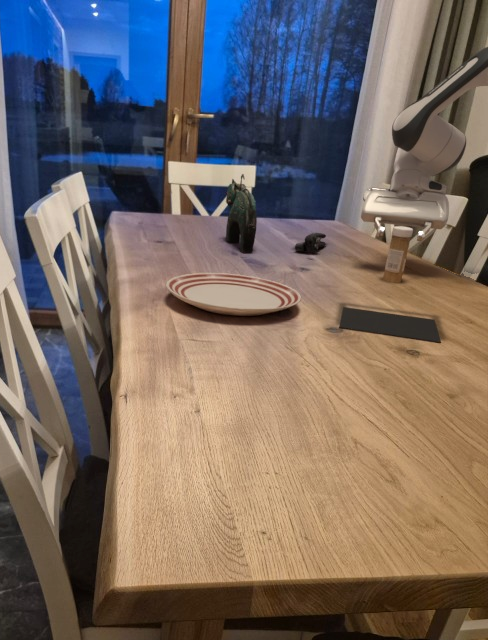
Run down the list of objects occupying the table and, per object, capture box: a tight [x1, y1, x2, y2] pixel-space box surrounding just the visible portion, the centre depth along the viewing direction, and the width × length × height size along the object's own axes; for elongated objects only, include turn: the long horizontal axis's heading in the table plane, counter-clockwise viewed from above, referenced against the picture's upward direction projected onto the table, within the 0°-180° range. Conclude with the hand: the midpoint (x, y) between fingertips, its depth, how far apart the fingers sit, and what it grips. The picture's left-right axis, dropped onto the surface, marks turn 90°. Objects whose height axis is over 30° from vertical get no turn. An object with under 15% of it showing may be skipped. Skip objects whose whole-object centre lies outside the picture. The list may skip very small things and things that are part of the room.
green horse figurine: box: [225, 173, 258, 254], centre depth 166 cm, size 20×6×20 cm, turn 11°
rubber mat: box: [338, 306, 442, 344], centre depth 111 cm, size 18×14×1 cm
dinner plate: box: [165, 272, 302, 317], centre depth 117 cm, size 28×27×3 cm
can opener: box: [294, 231, 327, 254], centre depth 171 cm, size 18×7×6 cm, turn 148°
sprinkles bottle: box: [382, 225, 414, 284], centre depth 137 cm, size 5×5×13 cm
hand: (400, 237), depth 139 cm, fingers open, 8 cm apart
